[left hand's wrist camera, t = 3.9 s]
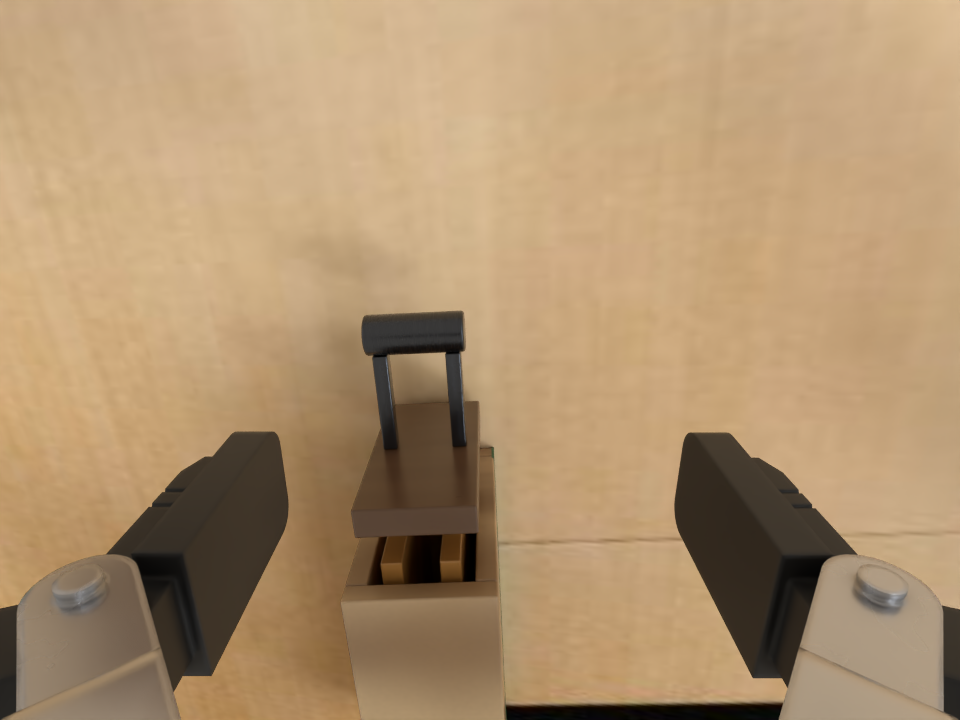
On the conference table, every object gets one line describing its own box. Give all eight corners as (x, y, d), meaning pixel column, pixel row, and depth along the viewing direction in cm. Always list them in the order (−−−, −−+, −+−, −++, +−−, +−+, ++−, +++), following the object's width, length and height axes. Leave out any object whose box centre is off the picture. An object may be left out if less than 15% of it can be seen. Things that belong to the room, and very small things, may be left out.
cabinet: (386, 451, 30) (339, 602, 20) (493, 447, 30) (498, 596, 20) (418, 712, 37) (395, 919, 27) (505, 709, 37) (514, 917, 27)
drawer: (375, 290, 26) (326, 356, 18) (472, 285, 26) (467, 350, 18) (420, 675, 35) (401, 839, 26) (494, 673, 34) (497, 837, 26)
